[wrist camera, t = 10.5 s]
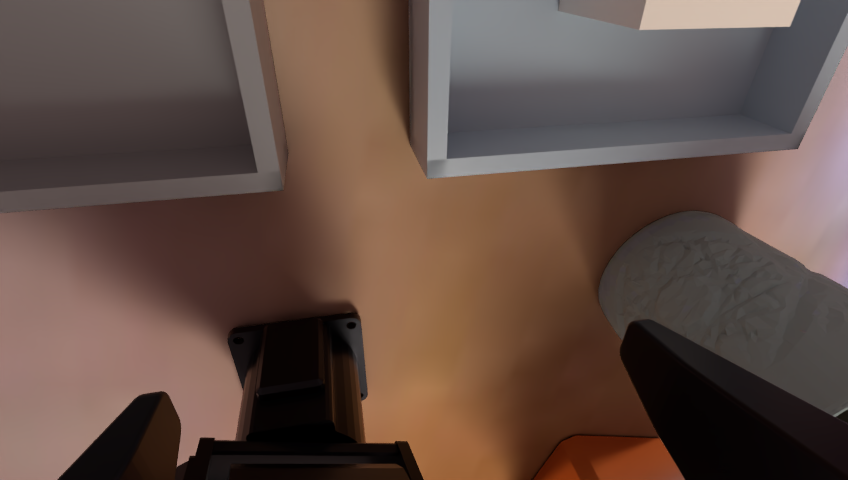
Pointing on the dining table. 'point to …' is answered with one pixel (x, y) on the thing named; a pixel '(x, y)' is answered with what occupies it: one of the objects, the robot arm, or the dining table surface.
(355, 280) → the dining table surface
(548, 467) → the whiskey bottle
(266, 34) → the bin
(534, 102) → the bin
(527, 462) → the dining table surface
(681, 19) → the smooth beige block
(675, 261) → the grey cylinder
